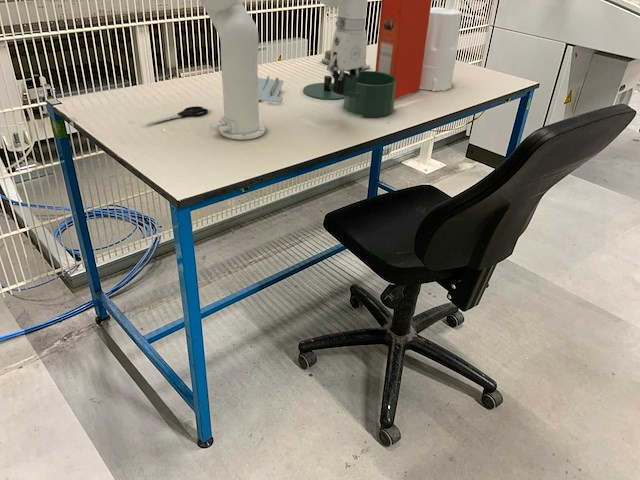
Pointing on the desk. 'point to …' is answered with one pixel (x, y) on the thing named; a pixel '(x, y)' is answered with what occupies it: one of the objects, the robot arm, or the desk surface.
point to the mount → (348, 86)
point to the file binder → (403, 42)
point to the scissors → (187, 113)
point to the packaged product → (328, 56)
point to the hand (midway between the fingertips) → (344, 91)
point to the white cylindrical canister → (440, 47)
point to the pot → (372, 95)
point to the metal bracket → (269, 89)
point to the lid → (322, 90)
